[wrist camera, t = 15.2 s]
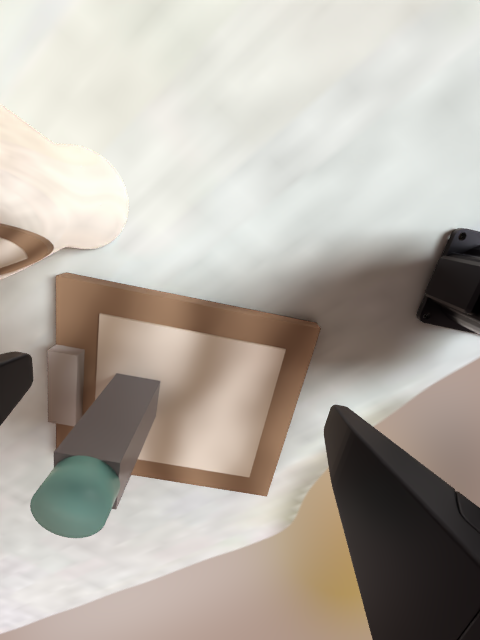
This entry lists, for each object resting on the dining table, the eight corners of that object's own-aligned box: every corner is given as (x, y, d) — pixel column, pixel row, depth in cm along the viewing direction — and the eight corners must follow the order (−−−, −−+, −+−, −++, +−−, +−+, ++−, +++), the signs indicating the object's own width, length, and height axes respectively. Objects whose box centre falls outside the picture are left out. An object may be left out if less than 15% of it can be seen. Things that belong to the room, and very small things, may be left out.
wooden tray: (316, 322, 22) (324, 334, 19) (265, 484, 27) (267, 507, 25) (66, 272, 20) (46, 278, 18) (64, 451, 26) (48, 472, 24)
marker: (156, 417, 23) (104, 542, 14) (112, 410, 22) (31, 532, 14) (162, 380, 22) (108, 490, 13) (115, 371, 21) (29, 478, 13)
